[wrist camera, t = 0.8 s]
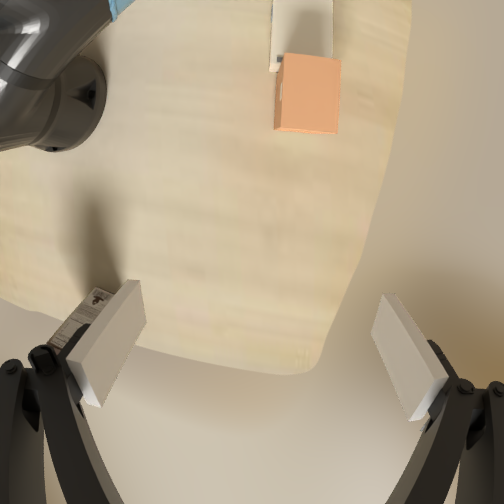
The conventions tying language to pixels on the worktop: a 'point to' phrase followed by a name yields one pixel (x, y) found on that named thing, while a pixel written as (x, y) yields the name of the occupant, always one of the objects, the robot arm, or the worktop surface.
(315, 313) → the worktop surface
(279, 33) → the white button box
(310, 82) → the brown box
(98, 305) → the coffee box
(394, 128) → the worktop surface
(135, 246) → the worktop surface
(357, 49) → the worktop surface
